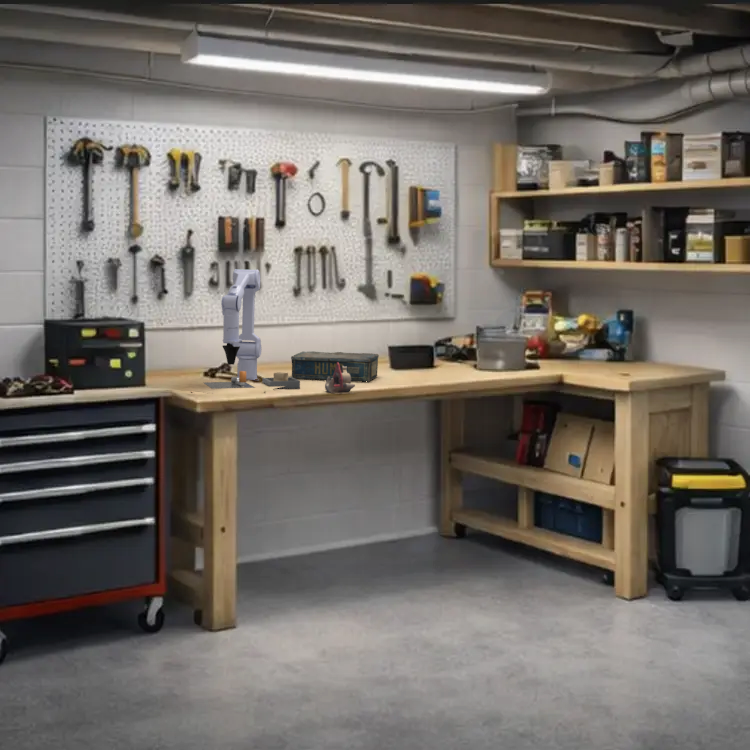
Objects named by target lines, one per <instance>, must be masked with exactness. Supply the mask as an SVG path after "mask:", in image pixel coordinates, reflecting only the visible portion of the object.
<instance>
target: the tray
mask: <svg viewBox="0 0 750 750" xmlns="http://www.w3.org/2000/svg"><path fill="white" fill-rule="evenodd" d="M262 384H264V385H266V386H268V387H271V388H272V387H274V390H299V389H301V380H297V379H295V378H292V376H288V381H274V377H262Z"/></svg>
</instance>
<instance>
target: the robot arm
mask: <svg viewBox="0 0 750 750" xmlns="http://www.w3.org/2000/svg"><path fill="white" fill-rule="evenodd" d="M232 283H233V285H231V286H230V287H229V290H228V291H227V294H225V295H224V296H222V298H221V305H220V306H221V310H222V311H221V313H222V316H223V321H222V322H223V329H222V330H223V334H222V335H223V336H222V337H223V338H222V342H223V344H225V345H222V348H223V351H224V353H225V359H226V362H227V365H229V366H231V365H235V363H236V358H237V359H238V361H237V367H236V368H237V370H236V371H237V374H236V375H237V376H236V377H239V371H246V380H252V381H256V380H255V379H258V359H259V358H260V357H261V355H262V341H261V338H260V337H259V336H258V335H257V334H256V333H255V304H256V303H255V302H256V300H255V298H256V292H258V291H260V288H261V272H260V270H259V269H258V268H257V269H238V268H234V270H233V272H232ZM241 310H242V312H241V313H242V317H241V318H242V319H241V320H242V321H241V322H242V323H241V324H242V325H241V333H240V311H241Z"/></svg>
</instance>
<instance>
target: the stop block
mask: <svg viewBox="0 0 750 750" xmlns="http://www.w3.org/2000/svg"><path fill="white" fill-rule="evenodd" d="M288 377H289V372H286V371H285V372H284V371H283V372H282V371H278V372H277V371H276V372H273V378H274V381H288Z"/></svg>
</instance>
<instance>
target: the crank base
mask: <svg viewBox="0 0 750 750" xmlns="http://www.w3.org/2000/svg"><path fill="white" fill-rule="evenodd" d="M202 383H203V384H204V385H206V386H207V387H209V388H210V389H213V390H215V389H216V390H217V389H218V390H219V389H251V388H252V389H255V388H256V387H255V386H253V385H251V384H250V383H247V381H246V382H245V385H239V384H236V383H232V382H231V381H218V382H217V381H211V382H210V381H209V382H208V381H207V382H206V381H205V382H202Z"/></svg>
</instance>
